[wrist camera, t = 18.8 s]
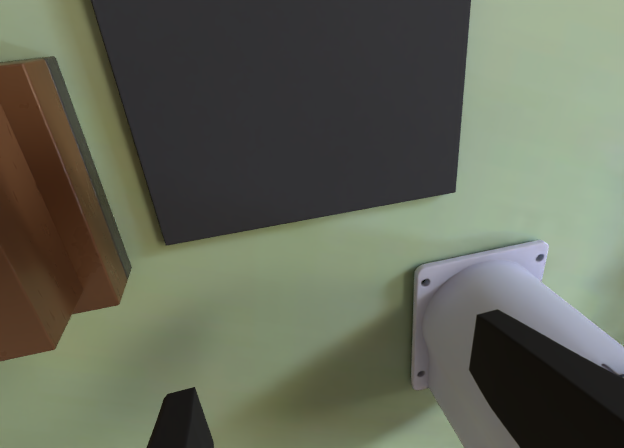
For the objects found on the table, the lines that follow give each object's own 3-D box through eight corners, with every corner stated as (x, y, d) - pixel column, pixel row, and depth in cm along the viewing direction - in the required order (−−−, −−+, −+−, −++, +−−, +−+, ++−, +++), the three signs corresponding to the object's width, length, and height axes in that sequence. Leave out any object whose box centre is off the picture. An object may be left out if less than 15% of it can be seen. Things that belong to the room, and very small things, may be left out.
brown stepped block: (132, 267, 18) (100, 365, 13) (26, 287, 18) (-53, 399, 12) (55, 55, 14) (-37, 75, 9) (-88, 71, 14) (-278, 103, 8)
